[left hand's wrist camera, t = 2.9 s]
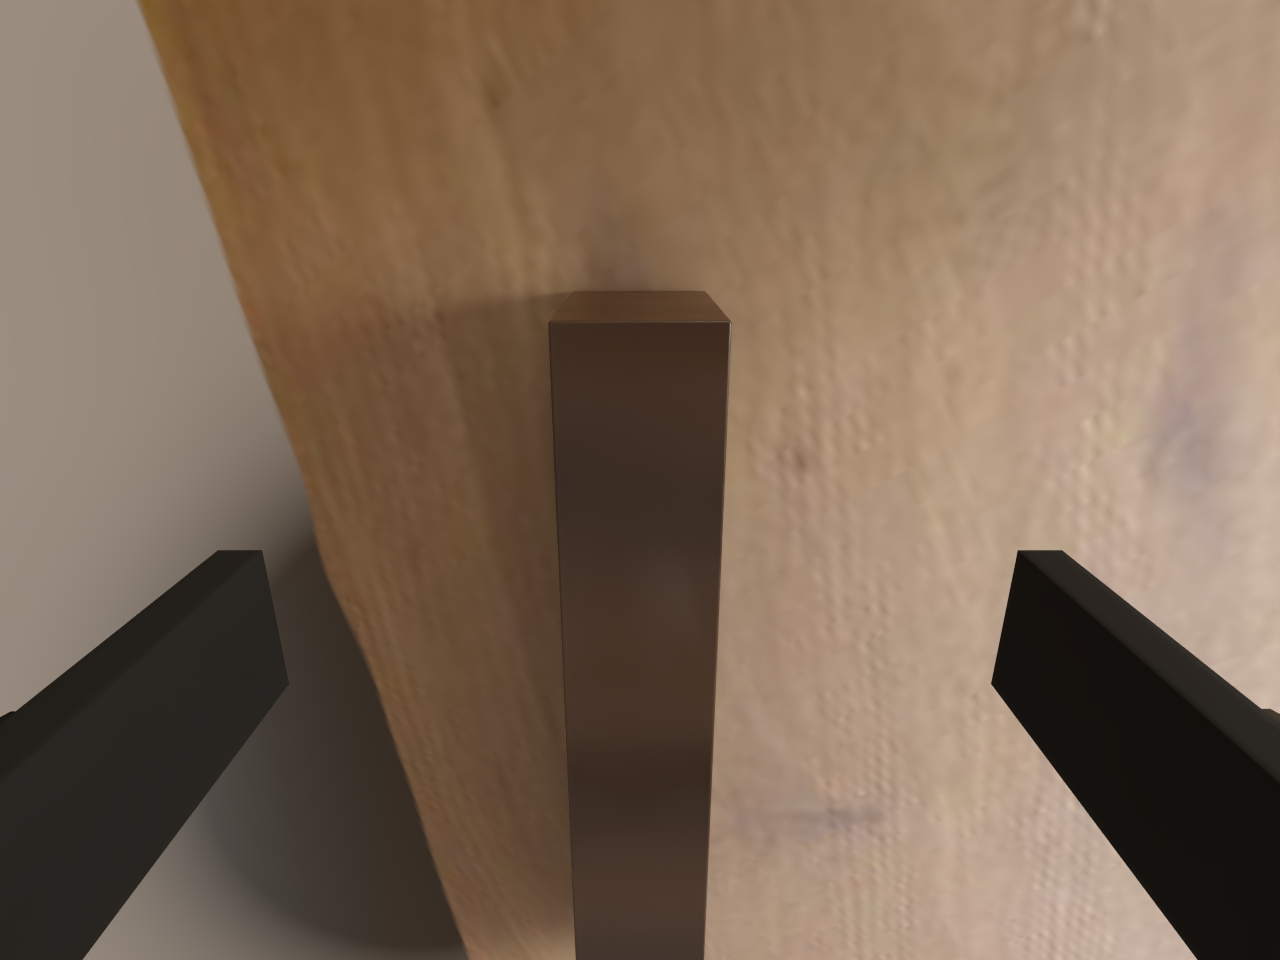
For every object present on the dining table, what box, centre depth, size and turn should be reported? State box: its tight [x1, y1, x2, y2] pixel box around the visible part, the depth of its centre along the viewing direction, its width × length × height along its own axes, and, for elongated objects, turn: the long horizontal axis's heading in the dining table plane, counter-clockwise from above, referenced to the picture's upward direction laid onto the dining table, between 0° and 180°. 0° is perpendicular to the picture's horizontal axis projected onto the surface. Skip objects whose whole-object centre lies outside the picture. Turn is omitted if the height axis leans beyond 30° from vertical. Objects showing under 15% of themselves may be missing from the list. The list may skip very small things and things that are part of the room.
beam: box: [548, 292, 732, 960], centre depth 29 cm, size 32×5×8 cm, turn 0°
